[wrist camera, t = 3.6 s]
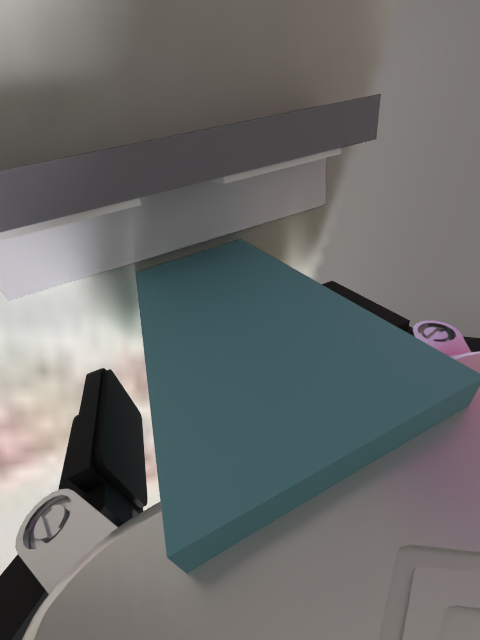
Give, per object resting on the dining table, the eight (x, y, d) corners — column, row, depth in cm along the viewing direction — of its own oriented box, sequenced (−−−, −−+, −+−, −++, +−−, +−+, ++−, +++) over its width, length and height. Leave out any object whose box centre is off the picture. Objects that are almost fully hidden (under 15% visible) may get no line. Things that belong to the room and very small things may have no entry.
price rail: (-72, 194, 7) (-165, 203, 5) (321, 112, 10) (380, 93, 8) (11, 297, 9) (-27, 339, 7) (321, 203, 12) (369, 211, 10)
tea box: (184, 381, 15) (257, 631, 7) (135, 272, 11) (166, 557, 3) (263, 348, 16) (406, 528, 8) (244, 238, 12) (491, 372, 4)
